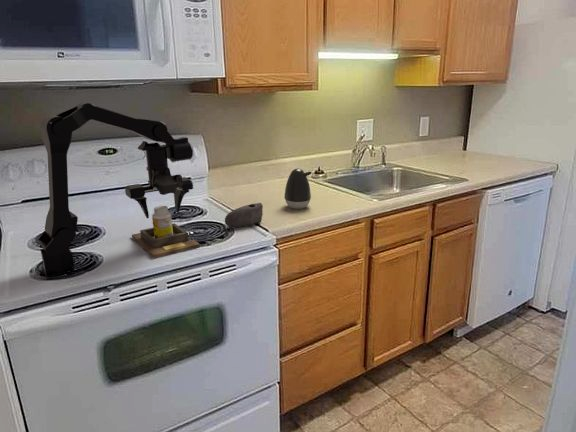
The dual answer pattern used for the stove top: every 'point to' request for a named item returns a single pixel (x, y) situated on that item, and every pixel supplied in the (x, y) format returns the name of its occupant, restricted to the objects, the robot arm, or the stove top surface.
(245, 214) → the perforated stone tool
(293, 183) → the pump dispenser
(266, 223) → the stove top surface
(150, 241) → the holder board
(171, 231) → the supplement bottle
